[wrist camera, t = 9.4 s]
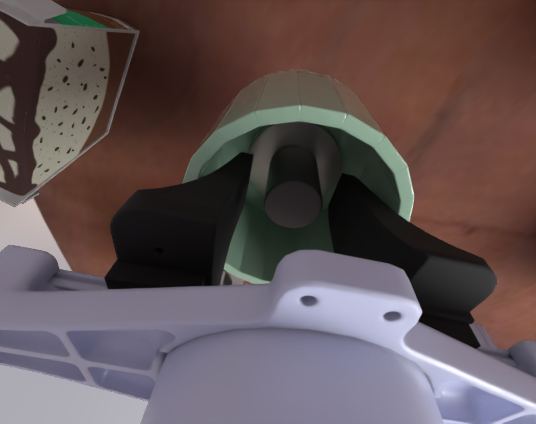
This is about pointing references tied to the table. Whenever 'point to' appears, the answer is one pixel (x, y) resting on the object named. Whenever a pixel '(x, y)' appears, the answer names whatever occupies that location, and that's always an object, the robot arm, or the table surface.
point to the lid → (294, 170)
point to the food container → (55, 88)
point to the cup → (312, 111)
